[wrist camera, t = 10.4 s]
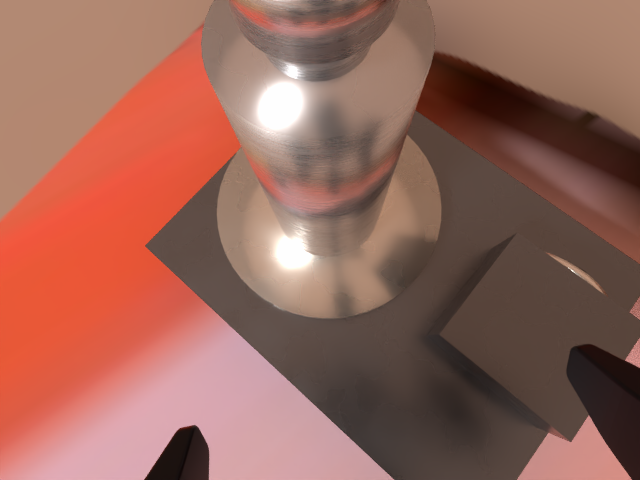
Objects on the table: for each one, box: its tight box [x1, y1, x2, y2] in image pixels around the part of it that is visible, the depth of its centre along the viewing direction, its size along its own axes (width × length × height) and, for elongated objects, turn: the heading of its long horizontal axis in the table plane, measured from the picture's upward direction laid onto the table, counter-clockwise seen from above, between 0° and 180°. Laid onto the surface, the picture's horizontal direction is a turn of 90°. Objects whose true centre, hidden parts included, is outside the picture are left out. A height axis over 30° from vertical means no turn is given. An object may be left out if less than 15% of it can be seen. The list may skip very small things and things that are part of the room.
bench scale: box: [145, 110, 640, 480], centre depth 19 cm, size 20×15×6 cm
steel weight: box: [201, 0, 435, 257], centre depth 12 cm, size 5×5×14 cm
